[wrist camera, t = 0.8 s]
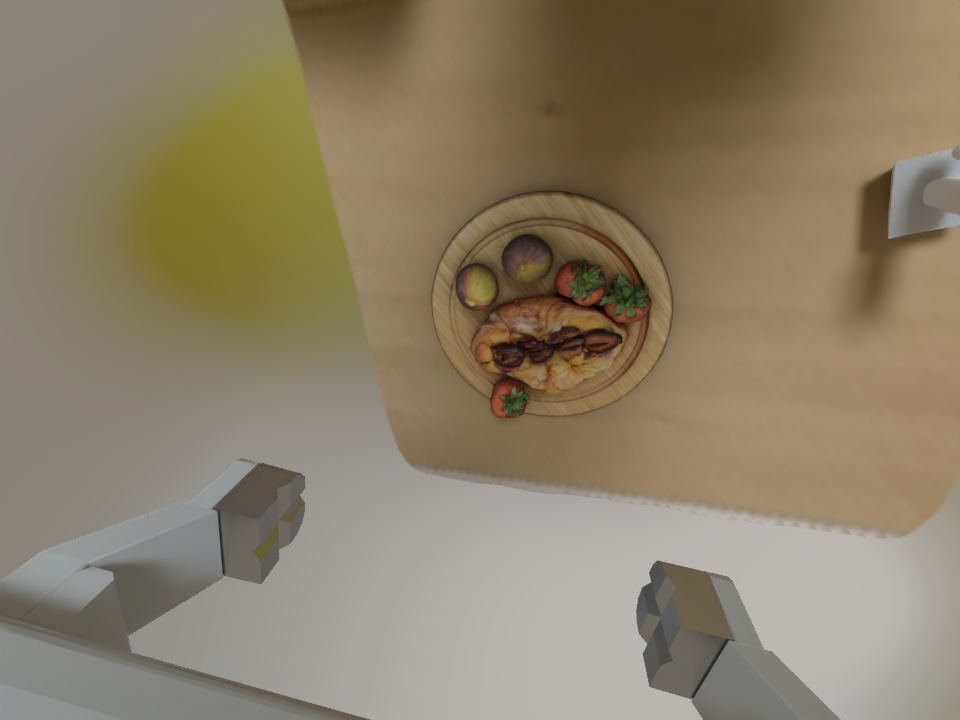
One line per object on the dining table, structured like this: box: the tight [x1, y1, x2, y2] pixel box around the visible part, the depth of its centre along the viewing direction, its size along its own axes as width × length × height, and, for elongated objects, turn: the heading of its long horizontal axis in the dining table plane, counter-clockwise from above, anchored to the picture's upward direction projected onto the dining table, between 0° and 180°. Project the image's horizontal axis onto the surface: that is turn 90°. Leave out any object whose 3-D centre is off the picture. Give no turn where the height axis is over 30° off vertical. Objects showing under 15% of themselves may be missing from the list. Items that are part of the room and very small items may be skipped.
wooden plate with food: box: [432, 191, 673, 418], centre depth 57 cm, size 32×32×8 cm
